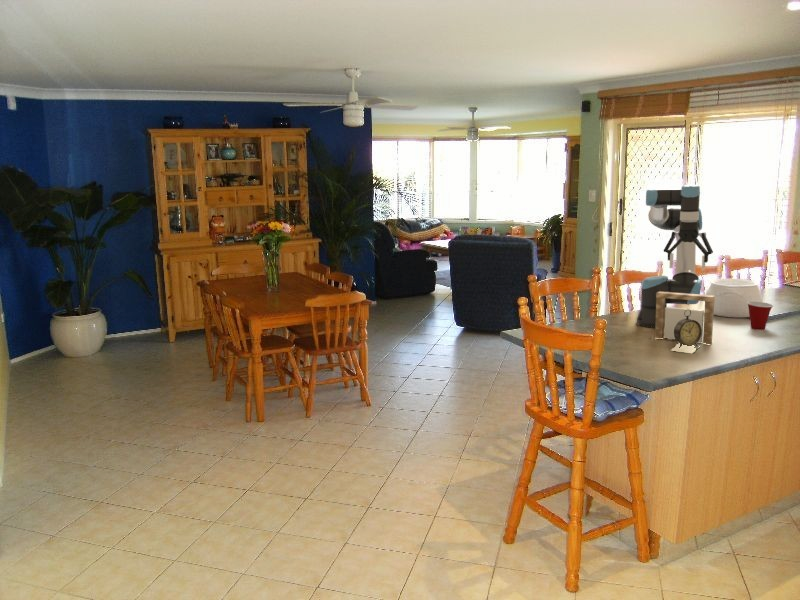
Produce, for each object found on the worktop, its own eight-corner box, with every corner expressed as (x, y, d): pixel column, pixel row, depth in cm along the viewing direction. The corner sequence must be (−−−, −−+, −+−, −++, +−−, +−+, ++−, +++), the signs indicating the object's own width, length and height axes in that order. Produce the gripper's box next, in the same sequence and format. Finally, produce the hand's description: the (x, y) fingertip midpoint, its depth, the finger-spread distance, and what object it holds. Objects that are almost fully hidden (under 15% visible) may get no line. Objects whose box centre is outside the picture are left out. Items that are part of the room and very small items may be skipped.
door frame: (654, 339, 305) (656, 292, 301) (657, 337, 309) (658, 291, 304) (710, 345, 292) (712, 297, 288) (712, 343, 295) (714, 295, 291)
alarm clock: (679, 349, 285) (680, 311, 281) (670, 346, 290) (672, 309, 287) (701, 347, 287) (703, 309, 284) (693, 344, 292) (694, 306, 289)
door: (664, 338, 304) (665, 307, 301) (665, 337, 305) (666, 306, 303) (701, 342, 295) (702, 311, 292) (702, 341, 297) (703, 310, 294)
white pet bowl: (759, 321, 330) (761, 288, 327) (699, 317, 344) (701, 285, 341) (764, 309, 354) (766, 279, 351) (708, 306, 368) (710, 276, 365)
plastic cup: (775, 331, 311) (776, 305, 309) (749, 331, 313) (750, 305, 311) (767, 325, 322) (769, 300, 319) (742, 325, 324) (744, 300, 322)
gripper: (721, 220, 296) (719, 269, 300) (662, 219, 311) (660, 265, 315) (717, 222, 290) (715, 272, 294) (657, 221, 305) (655, 268, 309)
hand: (687, 268), depth 305 cm, fingers open, 13 cm apart
